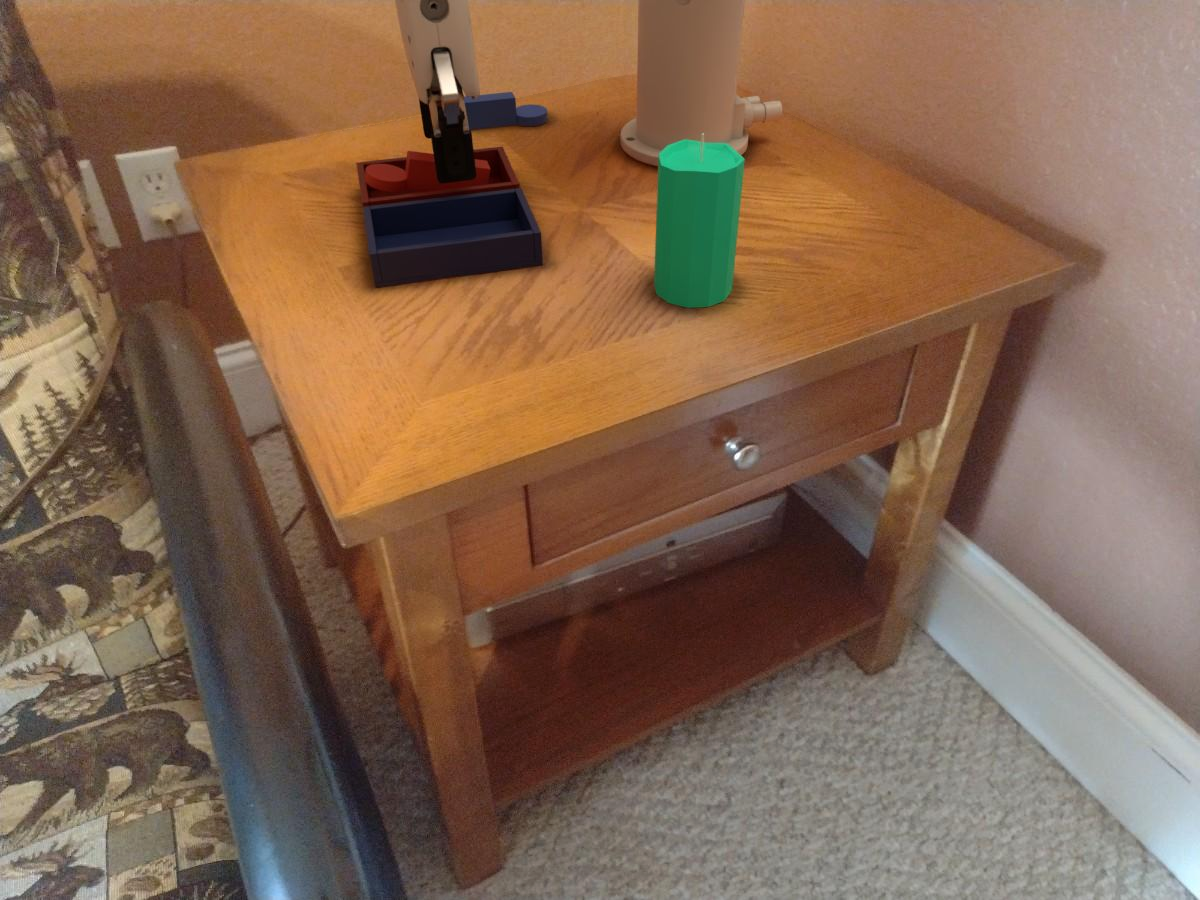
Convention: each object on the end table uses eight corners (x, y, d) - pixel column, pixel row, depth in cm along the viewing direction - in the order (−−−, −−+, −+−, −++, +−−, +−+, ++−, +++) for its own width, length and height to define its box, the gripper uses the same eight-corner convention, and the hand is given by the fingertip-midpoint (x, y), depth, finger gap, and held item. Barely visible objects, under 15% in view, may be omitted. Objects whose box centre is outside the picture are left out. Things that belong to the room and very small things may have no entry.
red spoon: (480, 186, 83) (485, 156, 81) (487, 203, 80) (492, 173, 79) (363, 172, 79) (365, 140, 78) (366, 189, 77) (368, 157, 75)
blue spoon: (451, 135, 93) (448, 107, 91) (446, 122, 96) (443, 95, 94) (551, 124, 95) (549, 97, 93) (543, 112, 98) (542, 85, 96)
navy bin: (523, 219, 79) (521, 187, 77) (543, 265, 73) (541, 231, 71) (368, 238, 76) (362, 206, 75) (375, 287, 70) (369, 254, 69)
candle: (727, 311, 67) (743, 154, 60) (647, 303, 68) (652, 147, 61) (735, 271, 72) (750, 120, 64) (660, 264, 73) (665, 114, 65)
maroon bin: (505, 176, 85) (502, 146, 84) (521, 215, 79) (519, 183, 78) (362, 192, 83) (356, 162, 81) (367, 234, 77) (361, 202, 75)
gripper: (488, -43, 62) (510, 194, 73) (454, -94, 74) (477, 115, 86) (377, -34, 61) (416, 207, 72) (361, -87, 73) (396, 124, 85)
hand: (449, 156), depth 79 cm, fingers open, 9 cm apart
